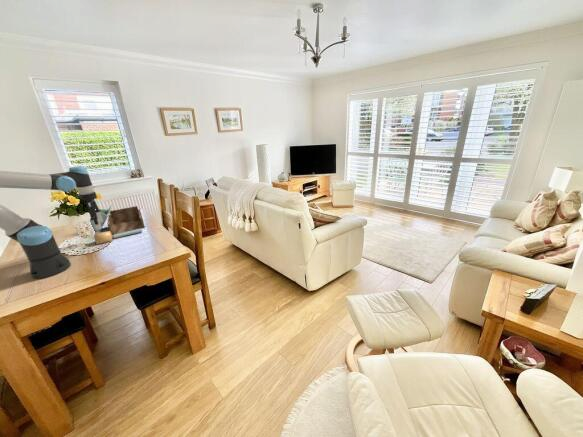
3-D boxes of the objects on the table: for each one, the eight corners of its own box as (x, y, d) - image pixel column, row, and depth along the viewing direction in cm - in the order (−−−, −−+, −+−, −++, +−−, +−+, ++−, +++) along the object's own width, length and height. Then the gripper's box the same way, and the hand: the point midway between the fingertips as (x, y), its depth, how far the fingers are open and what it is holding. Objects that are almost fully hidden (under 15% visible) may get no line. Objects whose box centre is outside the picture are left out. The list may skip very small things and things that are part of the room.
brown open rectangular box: (111, 236, 161) (105, 220, 156) (112, 226, 178) (107, 211, 173) (145, 229, 171) (140, 213, 166) (143, 220, 188) (138, 205, 183)
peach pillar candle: (97, 246, 148) (93, 236, 145) (98, 242, 154) (94, 232, 151) (113, 243, 152) (109, 233, 150) (113, 238, 158) (109, 229, 155)
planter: (87, 222, 175) (100, 198, 174) (100, 225, 180) (112, 202, 180) (85, 229, 162) (98, 203, 162) (99, 233, 167) (112, 208, 167)
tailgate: (115, 235, 161) (114, 238, 154) (114, 234, 161) (113, 236, 154) (142, 229, 169) (142, 231, 163) (141, 228, 169) (141, 230, 162)
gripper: (93, 196, 133) (106, 230, 141) (96, 187, 152) (108, 218, 160) (75, 199, 129) (90, 234, 137) (81, 189, 148) (94, 220, 156)
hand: (99, 225), depth 149 cm, fingers open, 13 cm apart
